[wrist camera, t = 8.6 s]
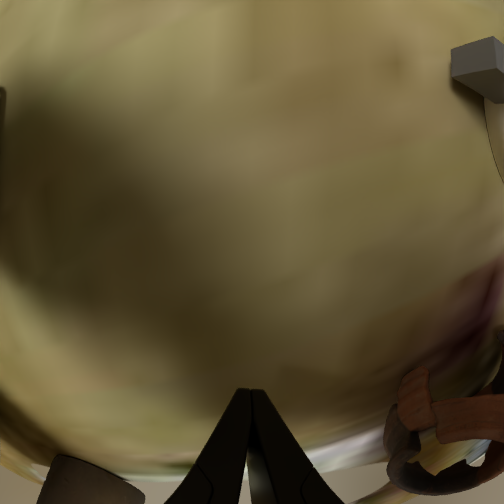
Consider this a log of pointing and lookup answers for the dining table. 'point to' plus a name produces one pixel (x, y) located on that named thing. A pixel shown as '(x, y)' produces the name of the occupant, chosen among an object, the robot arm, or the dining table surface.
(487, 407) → the pottery mug
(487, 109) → the press
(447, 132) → the dining table surface
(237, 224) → the dining table surface
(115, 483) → the pillar candle
